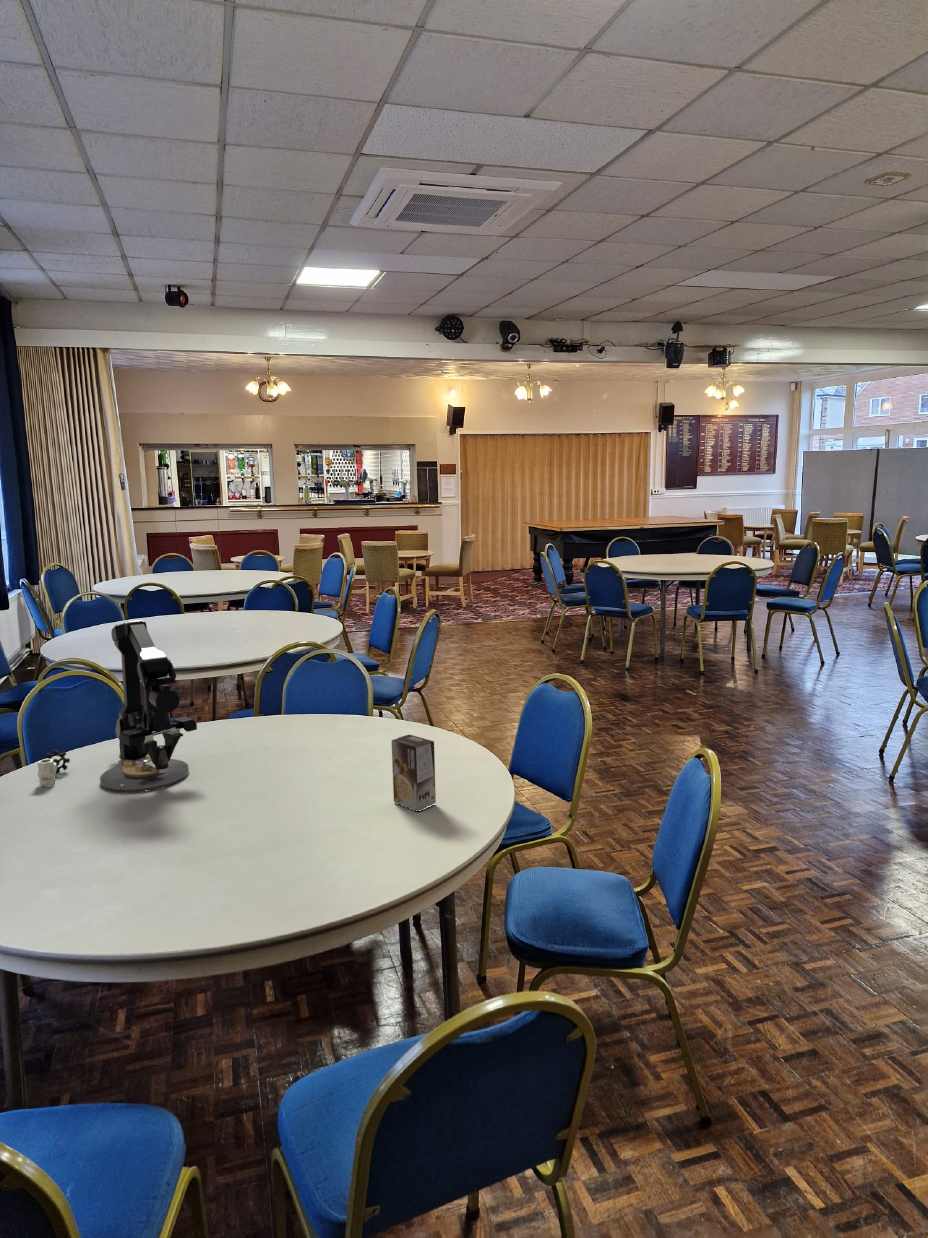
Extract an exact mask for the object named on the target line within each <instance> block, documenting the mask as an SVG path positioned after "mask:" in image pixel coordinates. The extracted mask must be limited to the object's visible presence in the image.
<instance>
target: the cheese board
mask: <svg viewBox="0 0 928 1238" xmlns="http://www.w3.org/2000/svg"><path fill="white" fill-rule="evenodd" d="M123 764H124V766H123V767H122V770H123V775H124V776H126V777H131V778H142V777H149V776H154V775H157V774H160V773H163V772H167V768H168V754H167V746H166V745H165V744H164V745H157V765H154V764H153V762H152V760H151V758H150V756H149V754H147V755H146V756H145V757H143V758H139V759H135V760H126V759H124V762H123Z"/></svg>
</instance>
